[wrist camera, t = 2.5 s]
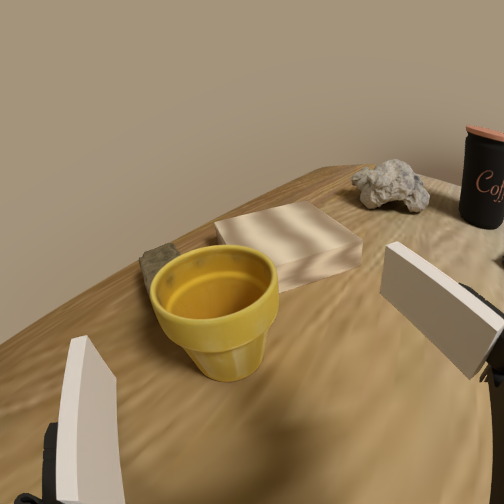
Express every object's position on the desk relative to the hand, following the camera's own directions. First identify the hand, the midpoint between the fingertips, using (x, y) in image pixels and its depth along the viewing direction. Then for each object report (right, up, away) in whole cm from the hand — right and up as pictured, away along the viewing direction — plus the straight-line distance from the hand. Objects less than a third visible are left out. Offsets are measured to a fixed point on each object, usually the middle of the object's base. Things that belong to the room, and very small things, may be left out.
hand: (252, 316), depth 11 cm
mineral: (+27, +12, +43) cm, 52 cm away
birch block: (+5, +2, +31) cm, 32 cm away
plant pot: (-2, -8, +16) cm, 18 cm away
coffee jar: (+46, +9, +33) cm, 57 cm away
